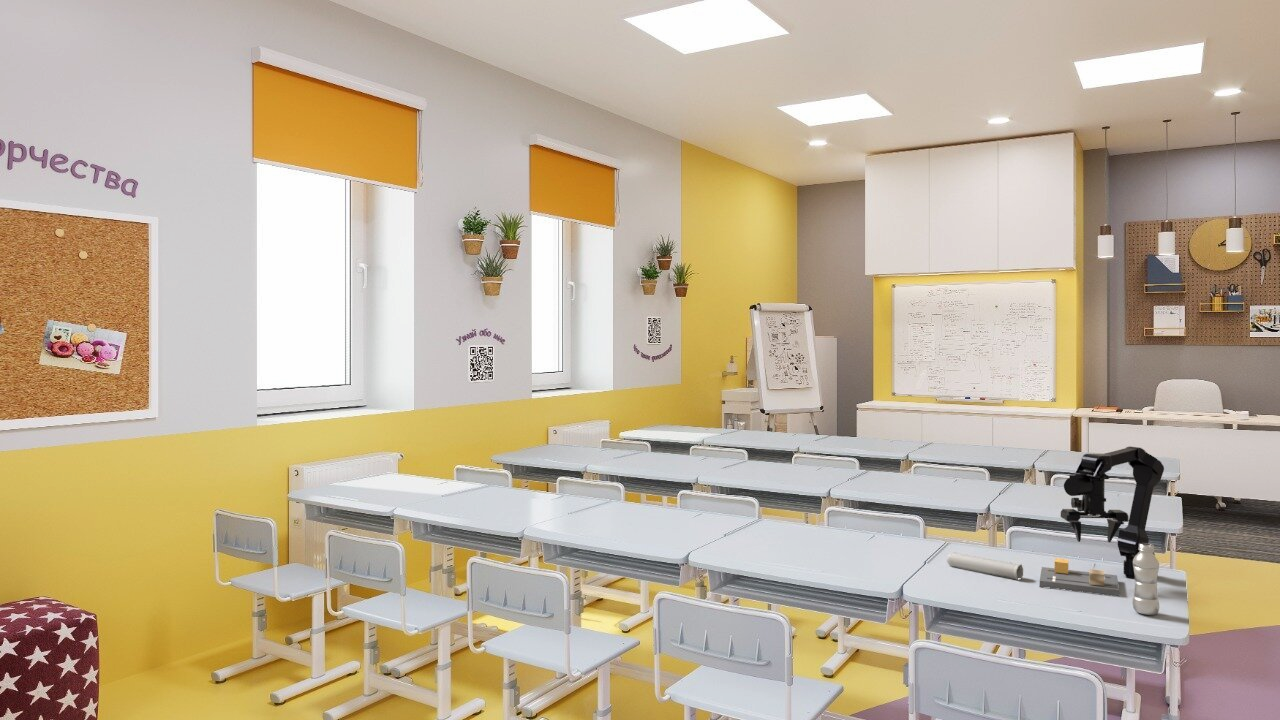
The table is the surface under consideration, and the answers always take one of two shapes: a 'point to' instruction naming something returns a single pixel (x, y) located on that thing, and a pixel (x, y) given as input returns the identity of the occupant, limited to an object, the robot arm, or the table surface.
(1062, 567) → the block
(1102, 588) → the fader panel
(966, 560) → the tube
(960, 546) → the table surface
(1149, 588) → the plastic bottle
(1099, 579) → the oak fader
